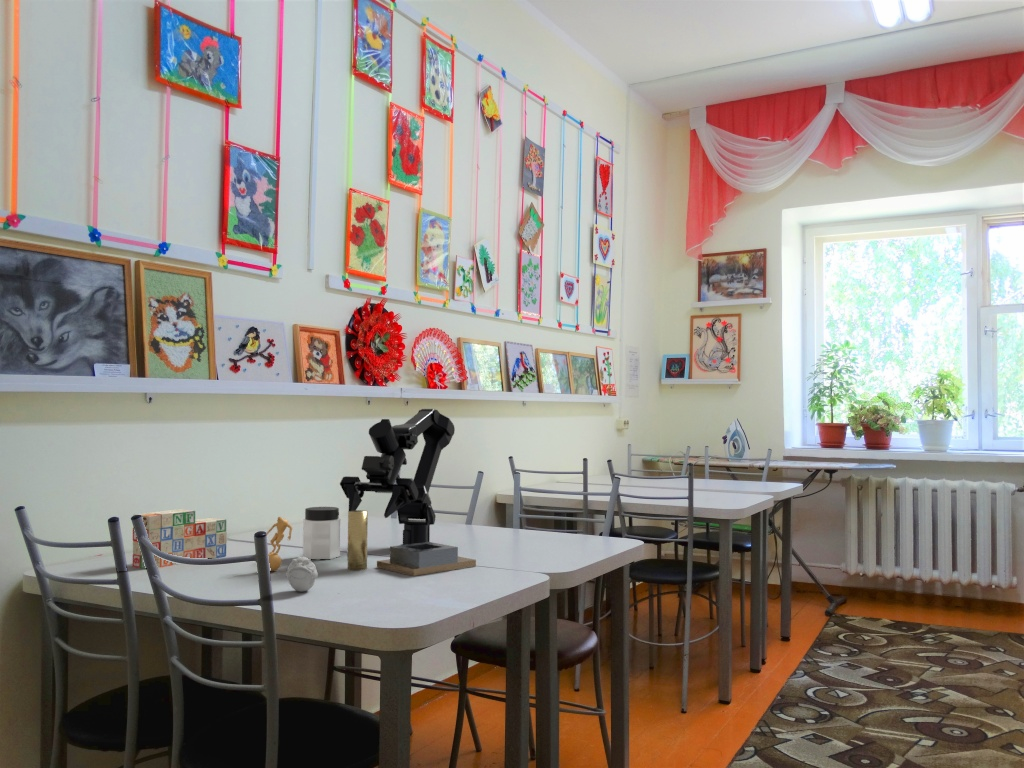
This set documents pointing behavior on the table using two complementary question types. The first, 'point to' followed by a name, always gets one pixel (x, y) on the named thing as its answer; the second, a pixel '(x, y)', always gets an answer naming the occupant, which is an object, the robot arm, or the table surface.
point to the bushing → (357, 540)
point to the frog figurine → (301, 574)
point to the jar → (321, 533)
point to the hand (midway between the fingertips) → (367, 515)
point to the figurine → (274, 557)
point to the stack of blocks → (182, 536)
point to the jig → (424, 559)
